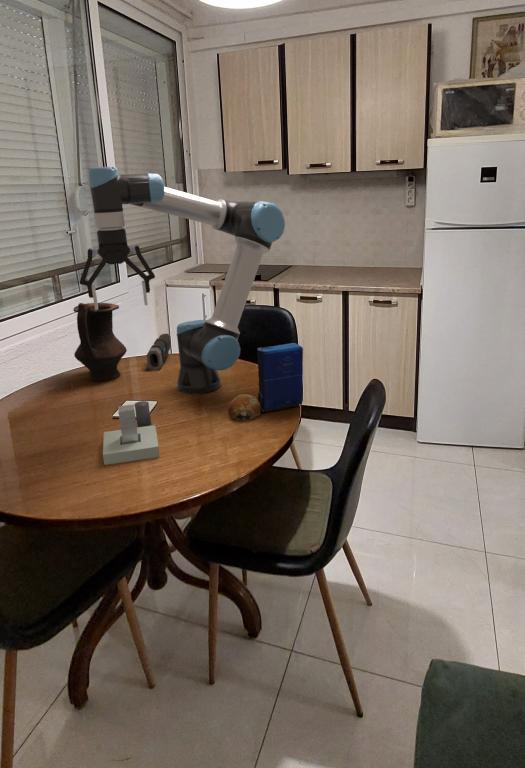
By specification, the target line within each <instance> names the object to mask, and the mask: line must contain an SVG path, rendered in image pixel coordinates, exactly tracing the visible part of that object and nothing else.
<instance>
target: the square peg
mask: <svg viewBox="0 0 525 768" xmlns="http://www.w3.org/2000/svg"><path fill="white" fill-rule="evenodd" d="M134 404H135V403H134ZM134 404H128V405H127V404H126V405H118V406H117V407H118V412H117V413H118V418H119V419H118V420H119V425H120V430H121V433H122V440H123V444H130V443H136V442H139V439H138V432H137V428H138V427H137V420H136V412H135V405H134Z"/></svg>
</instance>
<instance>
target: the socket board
mask: <svg viewBox="0 0 525 768" xmlns="http://www.w3.org/2000/svg"><path fill="white" fill-rule="evenodd" d="M151 425H152V424H151ZM137 432H138V439H139V442H136V443H130V444H123V440H122V433H121V429H118V430H117V429H116V430H111V431H110V430H109V431H103V442H102V443H103V444H102V448H103V449H102V458H103V459H102V460H103V463H104V466H108V465H116V464H120V463H127V462H134V461H140V460H148V459H153V458H159V457H161V455H160V446H159V441H158V435H157V427H156V425H155V424H153V425H152V426H145V427H137Z"/></svg>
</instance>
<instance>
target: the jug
mask: <svg viewBox="0 0 525 768" xmlns="http://www.w3.org/2000/svg"><path fill="white" fill-rule="evenodd" d="M97 303H98V310H95V306H94V302H88V303H84V302H80V303H78V305H76V306H74V307H73V312H74V313H77V314H76V323H77V327H76V328H77V331H78V332H77V333H78V337H79V340H80V341H79V342H80V343H79V345H78V347H77V348H76V350H75V351H74V358H75V359H76V360H77V361H79V362H80V364H82V365H83V366H84V367H86V368H87V369H88V370H89V372H90V373H89V379H90V380H91V381H95V382H109V381H113V380H116V379H118V378H119V377H120V376H121V373H120V371H119V370H118V365H119V363H120V361H121V360H122V358H123V357H124V356H125V355H126V353H127V351H128V349H127V348H126V346H125V345H124V344H123V342H121V341H120V340H119V338H117V336H115V334H114V331H113V325H114V324H113V312H114V311H115V310H119V309H120V306H119V305H118V304H114V303H109V302H108V303H107V302H97Z"/></svg>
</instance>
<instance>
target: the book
mask: <svg viewBox="0 0 525 768" xmlns="http://www.w3.org/2000/svg"><path fill="white" fill-rule="evenodd" d="M303 358H304V348H303V346H301V345H300V344H298V343H295V342H291V343H285V344H278V345H274V346H273V345H272V346H264V347H263V346H262V347H257V369H258V370H257V371H258V374H257V375H258V393H257V400H258V401H259V402H260V405H261V412H260V413H265V412H266V413H267V412H272V411H274V412H275V411H279V410H284V409H288V408H293V407H296V406H299V405H302V404H303V401H304V391H303V390H304V389H303V387H304V385H303V381H304V380H303V379H304V377H303V375H304V373H303V372H304V367H303V366H304V364H303V362H304V361H303V360H304V359H303Z"/></svg>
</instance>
